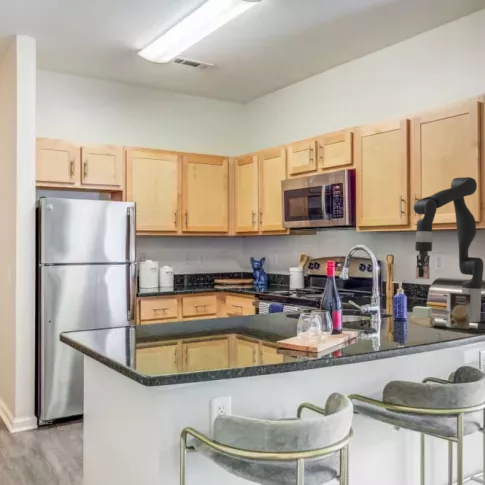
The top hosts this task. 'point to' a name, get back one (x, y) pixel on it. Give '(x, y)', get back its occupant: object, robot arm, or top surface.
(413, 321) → the tower base
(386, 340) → the top surface
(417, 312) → the tower mid
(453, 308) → the coffee box
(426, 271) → the rose block
